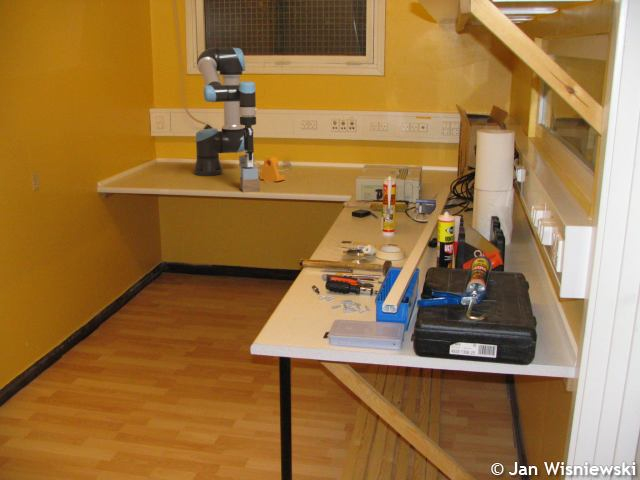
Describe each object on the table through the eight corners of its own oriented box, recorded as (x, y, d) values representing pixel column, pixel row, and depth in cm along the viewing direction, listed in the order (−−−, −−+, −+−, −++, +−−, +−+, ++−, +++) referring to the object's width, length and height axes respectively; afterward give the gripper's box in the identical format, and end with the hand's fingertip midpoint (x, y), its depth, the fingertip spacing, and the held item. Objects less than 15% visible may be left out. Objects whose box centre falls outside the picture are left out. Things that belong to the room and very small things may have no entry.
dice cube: (246, 167, 314) (246, 157, 313) (239, 166, 317) (239, 155, 316) (254, 166, 318) (254, 155, 316) (247, 164, 321) (247, 154, 319)
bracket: (285, 180, 344) (285, 157, 340) (277, 182, 338) (276, 159, 334) (268, 178, 349) (268, 155, 346) (260, 180, 343) (259, 157, 340)
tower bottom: (240, 189, 324) (240, 176, 322) (256, 188, 326) (256, 175, 324) (243, 192, 317) (242, 179, 315) (259, 191, 319) (259, 179, 317)
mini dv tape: (415, 213, 278) (415, 199, 277) (415, 212, 280) (415, 198, 278) (435, 214, 277) (435, 200, 275) (435, 214, 278) (436, 199, 276)
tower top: (241, 176, 322) (240, 166, 320) (255, 176, 324) (255, 165, 322) (243, 179, 315) (243, 169, 314) (258, 179, 317) (257, 168, 316)
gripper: (259, 118, 304) (260, 168, 310) (252, 113, 321) (253, 161, 328) (242, 118, 302) (244, 169, 308) (236, 114, 319) (238, 162, 326)
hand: (249, 165), depth 318 cm, fingers closed on dice cube, 6 cm apart
